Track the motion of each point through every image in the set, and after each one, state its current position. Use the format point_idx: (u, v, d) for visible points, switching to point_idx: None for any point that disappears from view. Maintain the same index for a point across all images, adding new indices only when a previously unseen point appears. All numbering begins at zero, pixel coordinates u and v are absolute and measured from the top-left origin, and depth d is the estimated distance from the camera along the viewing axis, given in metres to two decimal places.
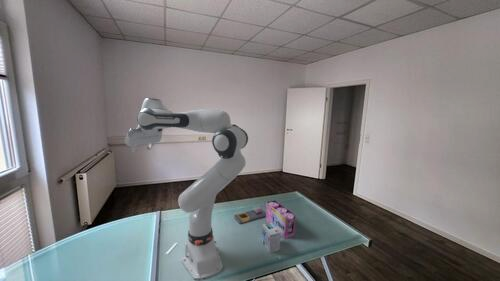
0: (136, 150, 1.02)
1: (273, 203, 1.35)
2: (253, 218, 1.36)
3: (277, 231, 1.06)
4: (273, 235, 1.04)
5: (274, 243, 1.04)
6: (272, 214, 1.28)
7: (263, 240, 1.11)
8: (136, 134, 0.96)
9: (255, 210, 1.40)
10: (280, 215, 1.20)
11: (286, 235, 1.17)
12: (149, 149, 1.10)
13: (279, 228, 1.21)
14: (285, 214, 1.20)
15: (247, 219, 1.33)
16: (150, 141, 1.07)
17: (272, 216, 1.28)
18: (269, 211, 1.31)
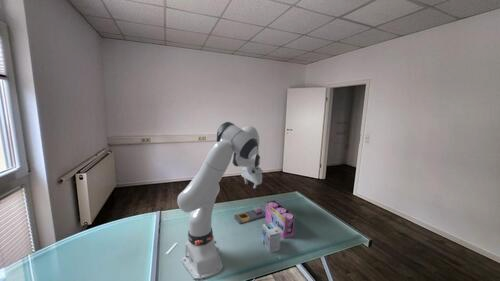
0: (246, 182, 1.45)
1: (272, 203, 1.35)
2: (253, 218, 1.36)
3: (277, 231, 1.06)
4: (273, 235, 1.04)
5: (274, 243, 1.04)
6: (271, 214, 1.28)
7: (263, 240, 1.11)
8: (243, 169, 1.45)
9: (255, 210, 1.40)
10: (279, 215, 1.20)
11: (285, 235, 1.17)
12: (253, 187, 1.39)
13: (279, 228, 1.21)
14: (284, 214, 1.20)
15: (247, 219, 1.33)
16: (251, 179, 1.39)
17: (271, 216, 1.28)
18: (268, 211, 1.31)
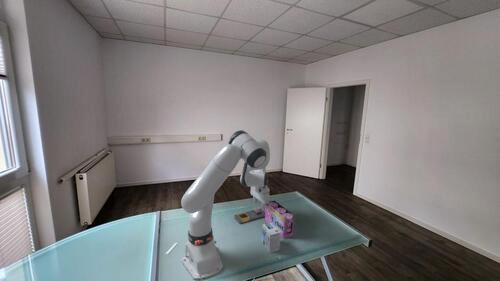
0: (255, 200, 1.44)
1: (272, 203, 1.34)
2: (253, 218, 1.36)
3: (277, 231, 1.06)
4: (273, 235, 1.04)
5: (274, 243, 1.04)
6: (271, 214, 1.28)
7: (263, 240, 1.11)
8: (252, 187, 1.45)
9: (255, 210, 1.40)
10: (279, 215, 1.20)
11: (285, 235, 1.17)
12: (261, 206, 1.36)
13: (278, 228, 1.21)
14: (284, 214, 1.20)
15: (247, 219, 1.33)
16: (259, 198, 1.37)
17: (271, 216, 1.28)
18: (268, 211, 1.31)
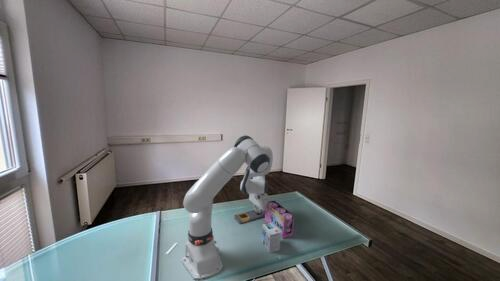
0: None
1: (272, 203, 1.34)
2: (253, 218, 1.36)
3: (277, 231, 1.06)
4: (273, 235, 1.04)
5: (274, 243, 1.04)
6: (271, 214, 1.28)
7: (263, 240, 1.11)
8: None
9: (255, 210, 1.40)
10: (279, 215, 1.20)
11: (284, 235, 1.17)
12: (258, 211, 1.39)
13: (278, 228, 1.21)
14: (284, 214, 1.20)
15: (247, 219, 1.33)
16: (257, 205, 1.38)
17: (271, 216, 1.28)
18: (268, 211, 1.31)
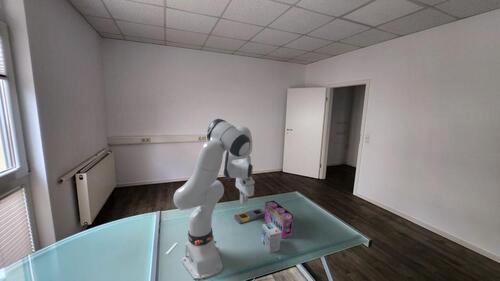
0: None
1: (272, 203, 1.34)
2: (253, 218, 1.36)
3: (277, 231, 1.06)
4: (273, 235, 1.04)
5: (274, 243, 1.04)
6: (270, 214, 1.28)
7: (263, 240, 1.11)
8: (237, 179, 1.38)
9: (241, 196, 1.33)
10: (278, 215, 1.20)
11: (284, 235, 1.17)
12: (244, 198, 1.32)
13: (277, 228, 1.21)
14: (283, 214, 1.20)
15: (247, 219, 1.33)
16: (243, 191, 1.30)
17: (270, 216, 1.28)
18: (267, 211, 1.31)
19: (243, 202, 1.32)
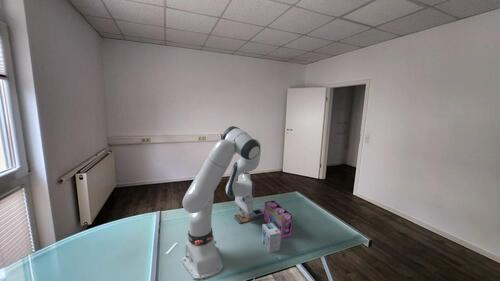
0: (239, 209, 1.39)
1: (271, 203, 1.34)
2: (253, 218, 1.36)
3: (277, 231, 1.06)
4: (273, 235, 1.04)
5: (274, 243, 1.04)
6: (270, 214, 1.28)
7: (263, 240, 1.11)
8: None
9: (240, 214, 1.34)
10: (277, 215, 1.20)
11: (283, 235, 1.17)
12: (245, 216, 1.31)
13: (277, 228, 1.21)
14: (282, 214, 1.20)
15: (247, 219, 1.33)
16: (242, 207, 1.32)
17: (270, 216, 1.28)
18: (267, 211, 1.31)
19: None
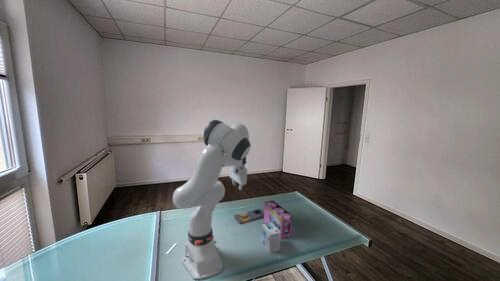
0: (233, 183, 1.37)
1: (271, 203, 1.34)
2: (253, 218, 1.36)
3: (277, 231, 1.06)
4: (273, 235, 1.04)
5: (274, 243, 1.04)
6: (269, 214, 1.28)
7: (263, 240, 1.11)
8: (230, 169, 1.38)
9: (240, 214, 1.34)
10: (277, 215, 1.20)
11: (282, 235, 1.17)
12: None
13: None
14: (282, 214, 1.20)
15: (247, 219, 1.33)
16: (236, 180, 1.30)
17: (269, 216, 1.28)
18: (267, 211, 1.31)
19: None
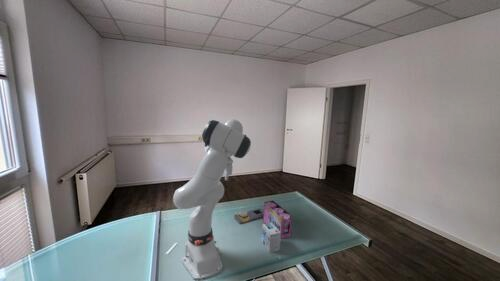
0: None
1: (271, 203, 1.34)
2: (253, 218, 1.36)
3: (277, 231, 1.06)
4: (273, 235, 1.04)
5: (274, 243, 1.04)
6: (269, 214, 1.28)
7: (263, 240, 1.11)
8: None
9: (240, 214, 1.34)
10: (276, 215, 1.20)
11: (282, 235, 1.17)
12: None
13: None
14: (281, 214, 1.20)
15: (247, 219, 1.33)
16: None
17: (269, 216, 1.28)
18: (266, 211, 1.31)
19: None
